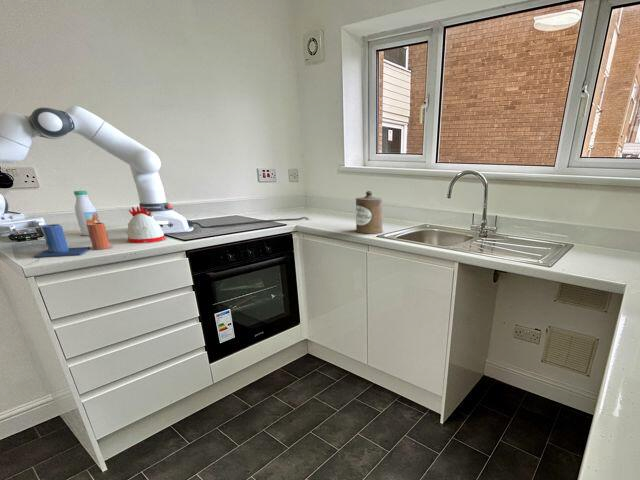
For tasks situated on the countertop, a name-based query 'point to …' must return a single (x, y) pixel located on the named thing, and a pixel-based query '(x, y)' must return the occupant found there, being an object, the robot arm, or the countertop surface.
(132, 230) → the white crested dome
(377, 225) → the wooden container
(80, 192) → the milk bottle
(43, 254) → the blue mat
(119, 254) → the countertop surface
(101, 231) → the terracotta cup
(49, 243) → the blue cup
